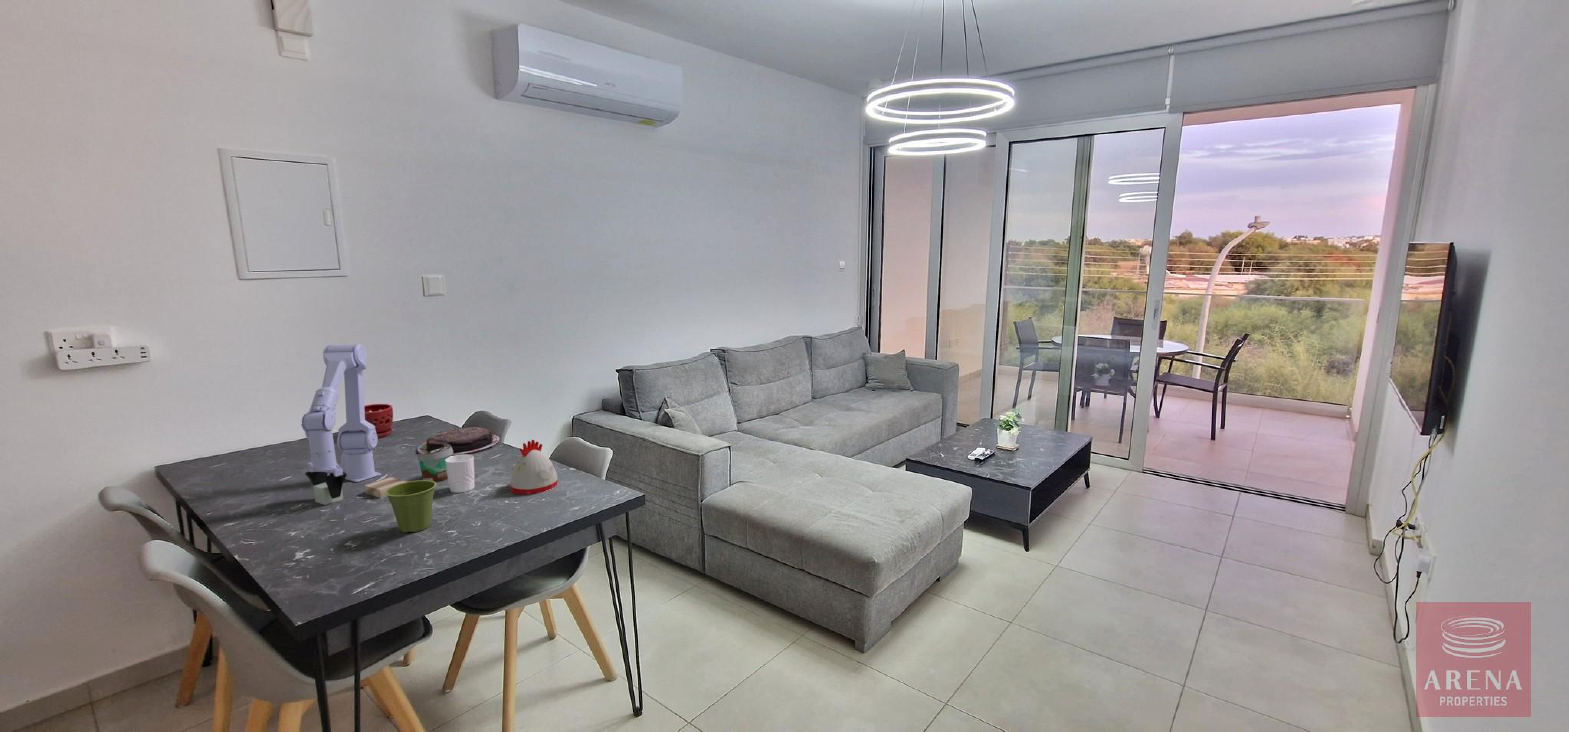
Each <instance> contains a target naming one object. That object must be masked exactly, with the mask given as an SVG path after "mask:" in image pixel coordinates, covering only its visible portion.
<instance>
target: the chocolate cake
mask: <svg viewBox="0 0 1569 732" xmlns="http://www.w3.org/2000/svg"><path fill="white" fill-rule="evenodd" d="M496 443H498V444H499V443H500V437H499V436H498V435H495V434H492V433H491V431H490V429H487V428H485V427H482V426H476V427H475V426H473V427H472V426H471V427H468V426H467V427H462V428H456V427H455V428H454V429H446V430H440V431H438V432H437V433H435V434H432V435H431V436H430V437H428V438H427V439H426V442H423V443H422V444H421V445H419V446H418V447H417V452H418V454H426V453H428V452H430V451H431V450H435V449H439V448H441V447H444V444H449V445H450V446H451V447H452V449H453V453H452V454H451V456H455V455H462V454H469V455H471V454H470V453H472V454H476V453H479V452H480V451H481V452H484V451H483V450H485V449H486V450H487V449H490V447H491V448H494V447H495V446H496V445H497V444H496ZM493 446H494V447H493ZM486 450H485V451H486Z"/></svg>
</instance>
